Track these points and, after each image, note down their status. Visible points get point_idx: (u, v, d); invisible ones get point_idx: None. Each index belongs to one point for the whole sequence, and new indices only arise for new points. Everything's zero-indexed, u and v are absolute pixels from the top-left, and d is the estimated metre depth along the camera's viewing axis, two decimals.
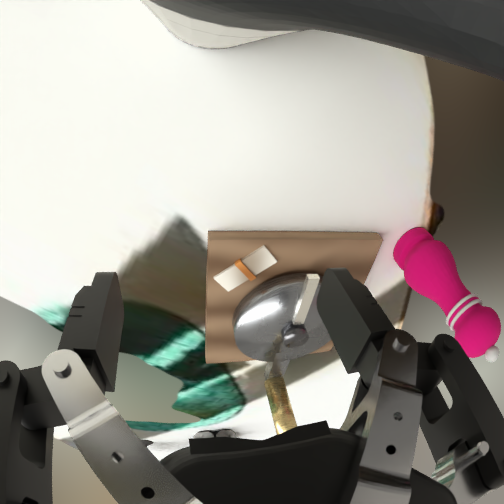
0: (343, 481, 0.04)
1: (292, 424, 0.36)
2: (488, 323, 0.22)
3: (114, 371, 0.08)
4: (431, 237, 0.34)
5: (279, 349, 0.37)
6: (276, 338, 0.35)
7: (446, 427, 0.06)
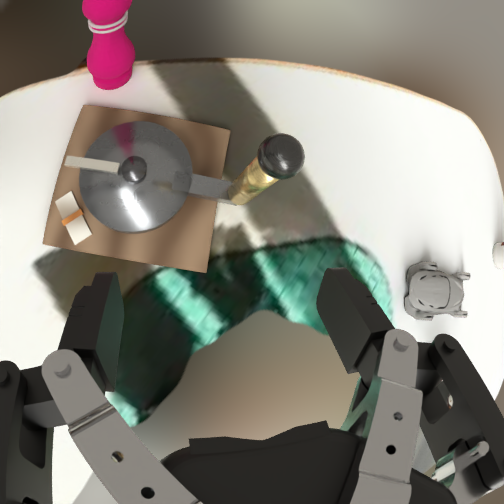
0: (343, 481, 0.04)
1: (250, 163, 0.28)
2: None
3: (114, 371, 0.08)
4: None
5: (164, 185, 0.33)
6: (142, 189, 0.32)
7: (446, 427, 0.06)
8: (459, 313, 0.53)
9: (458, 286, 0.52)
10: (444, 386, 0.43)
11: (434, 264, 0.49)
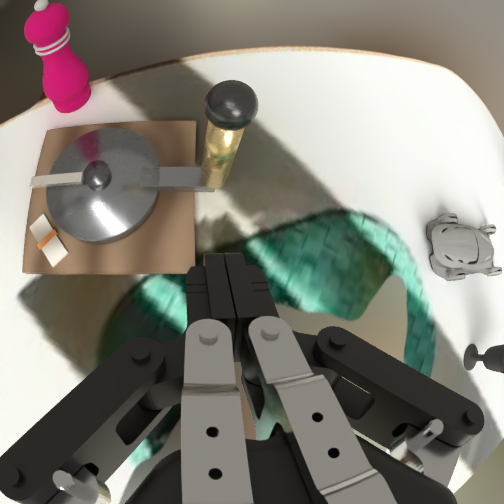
0: (308, 501, 0.04)
1: None
2: (24, 30, 0.18)
3: None
4: None
5: (131, 184, 0.30)
6: (108, 193, 0.29)
7: (379, 418, 0.07)
8: (493, 270, 0.44)
9: (485, 239, 0.44)
10: (497, 351, 0.34)
11: (454, 215, 0.42)
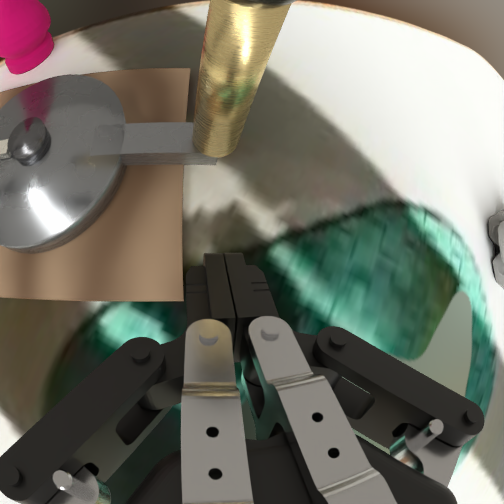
0: (308, 501, 0.04)
1: None
2: None
3: None
4: None
5: (77, 153, 0.16)
6: (43, 169, 0.15)
7: (379, 419, 0.07)
8: None
9: None
10: None
11: None
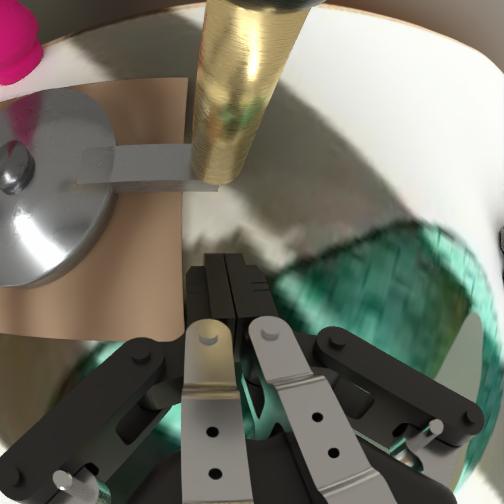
0: (308, 501, 0.04)
1: None
2: None
3: None
4: None
5: (63, 181, 0.14)
6: (27, 198, 0.14)
7: (379, 418, 0.07)
8: None
9: None
10: None
11: None
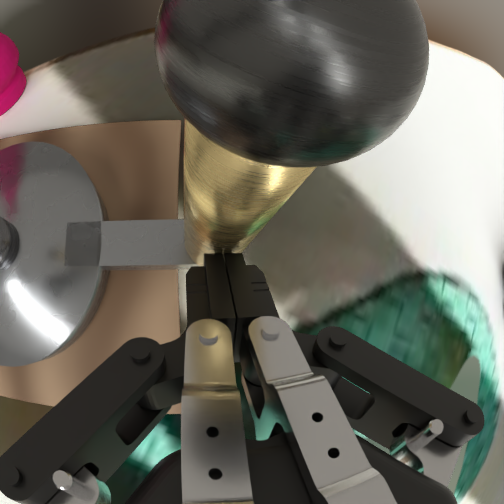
0: (308, 501, 0.04)
1: None
2: None
3: None
4: None
5: (49, 261, 0.13)
6: (15, 278, 0.13)
7: (379, 419, 0.07)
8: None
9: None
10: None
11: None
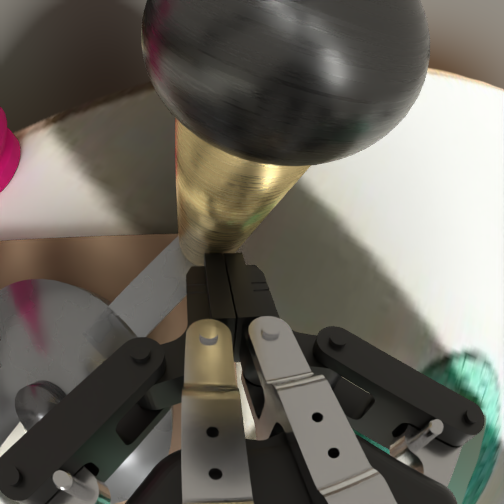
0: (308, 501, 0.04)
1: (179, 184, 0.07)
2: None
3: None
4: None
5: None
6: None
7: (379, 419, 0.07)
8: None
9: None
10: None
11: None
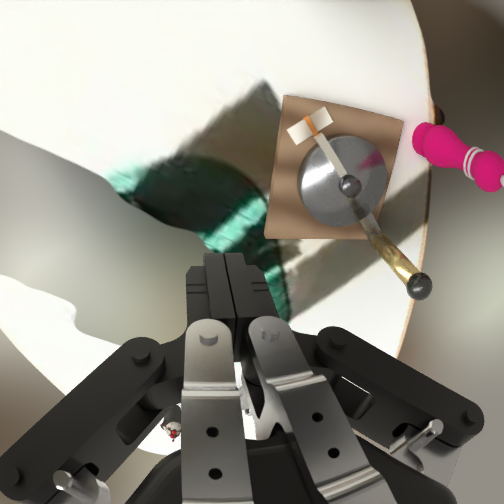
0: (308, 501, 0.04)
1: (404, 261, 0.40)
2: (494, 155, 0.28)
3: None
4: None
5: (353, 206, 0.43)
6: (341, 198, 0.42)
7: (379, 418, 0.07)
8: None
9: None
10: (179, 414, 0.63)
11: None
